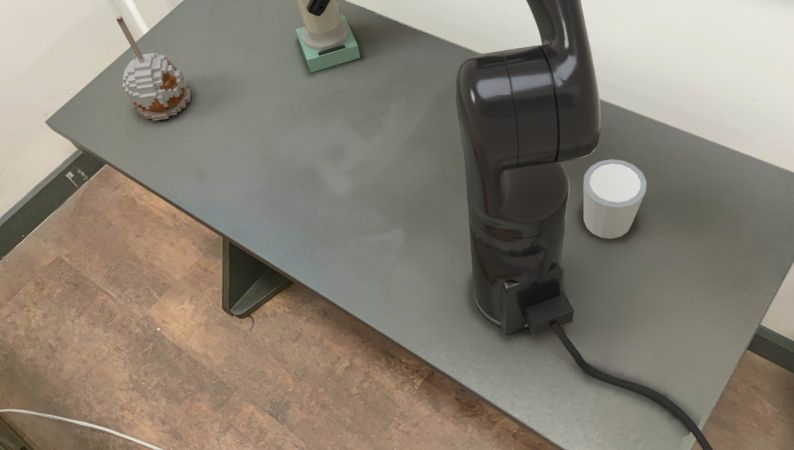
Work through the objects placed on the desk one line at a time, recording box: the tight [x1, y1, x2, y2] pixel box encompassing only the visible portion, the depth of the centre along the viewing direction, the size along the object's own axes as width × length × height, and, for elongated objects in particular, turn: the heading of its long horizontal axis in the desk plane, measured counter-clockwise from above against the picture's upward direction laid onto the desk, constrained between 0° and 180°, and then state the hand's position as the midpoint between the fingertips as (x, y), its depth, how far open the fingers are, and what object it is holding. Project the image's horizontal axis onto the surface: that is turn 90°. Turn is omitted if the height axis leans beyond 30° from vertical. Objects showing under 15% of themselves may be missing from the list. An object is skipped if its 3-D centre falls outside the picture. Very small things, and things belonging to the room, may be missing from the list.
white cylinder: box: [582, 158, 647, 240], centre depth 80 cm, size 7×7×7 cm
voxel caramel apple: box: [115, 15, 192, 122], centre depth 95 cm, size 8×8×15 cm
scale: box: [295, 14, 361, 73], centre depth 104 cm, size 8×8×3 cm
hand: (304, 1), depth 97 cm, fingers closed on cup, 5 cm apart
